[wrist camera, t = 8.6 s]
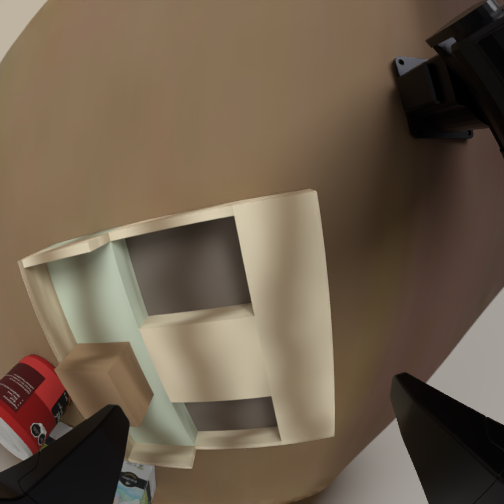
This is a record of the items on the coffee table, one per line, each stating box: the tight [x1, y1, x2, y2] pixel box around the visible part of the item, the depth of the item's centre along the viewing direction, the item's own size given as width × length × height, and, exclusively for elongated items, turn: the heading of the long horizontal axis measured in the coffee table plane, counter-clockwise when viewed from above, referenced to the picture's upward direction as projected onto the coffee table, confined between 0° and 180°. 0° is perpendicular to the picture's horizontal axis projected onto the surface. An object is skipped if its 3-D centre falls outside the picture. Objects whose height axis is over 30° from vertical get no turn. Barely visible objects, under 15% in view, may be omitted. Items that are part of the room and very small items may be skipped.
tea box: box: [39, 421, 156, 504], centre depth 22 cm, size 15×10×15 cm, turn 77°
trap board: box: [18, 189, 335, 469], centre depth 20 cm, size 21×22×5 cm
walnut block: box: [54, 341, 154, 427], centre depth 18 cm, size 6×6×4 cm
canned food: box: [0, 355, 71, 460], centre depth 20 cm, size 8×8×11 cm
